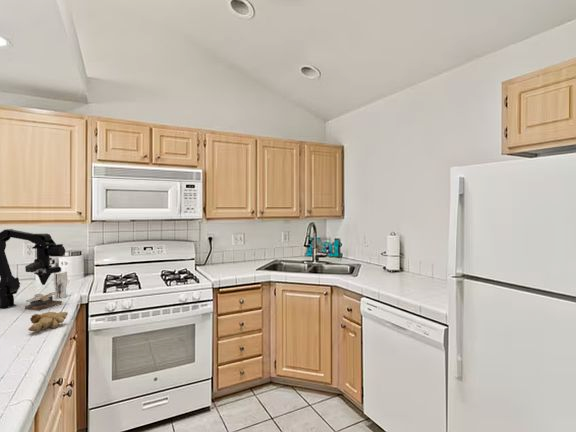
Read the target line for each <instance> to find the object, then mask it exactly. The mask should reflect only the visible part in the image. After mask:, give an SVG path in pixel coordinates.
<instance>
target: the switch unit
mask: <svg viewBox="0 0 576 432" xmlns="http://www.w3.org/2000/svg"><path fill="white" fill-rule="evenodd" d="M53 296H54V295H52V296H49V300H46V301H42V300H40V299H37V300H34V301H31V302H29V305H25V306H24V310H31V311H42V310H46V309H49V307H50V308H53V307H56V306H58V304H59V305H62V304H63V301H62V300H54V299H53ZM61 303H62V304H61ZM55 305H56V306H55ZM52 306H53V307H52Z"/></svg>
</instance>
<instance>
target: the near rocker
mask: <svg viewBox="0 0 576 432" xmlns="http://www.w3.org/2000/svg"><path fill="white" fill-rule="evenodd" d="M40 298H41V296H37V297H34V296H33V297H32V298H29V299H26V300H25V302H26V303H30V302H32V301H35V300H39V299H40Z"/></svg>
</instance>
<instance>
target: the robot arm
mask: <svg viewBox="0 0 576 432" xmlns="http://www.w3.org/2000/svg"><path fill="white" fill-rule="evenodd" d="M11 238H13V239H18V240H24V241H29V242H31V243H32V244H35V245H34V246H32V247H31V248H32V249H33V250H34V249H35V250H36V258H34V261H33V262H31V263H29V264H27V265H24V266H25V267H24V268H25V272H26V273H33V274H35V275H36V276H37V277H38V278H39V279H38V280H39V281H40V283H41V284H42V285H41V286H45V285H46V283H47V282H48V280H49V278H50V276H51V275H52V274H54V273H57V272H62V267H60V266H57V265H56V266H55V265H54V266H52V264H50V262H51V261H52V260H53V259H52V258H53V257H56V258H57V257H58V258H59V257H61V258H62V257H64V256H65V254H66V248H65V247H64V244H63V243H58V244H57V243H56V242H55V241H54V239H53V238H52V236H51V234H49V233H33V232H27V231H22V230H15V229H12V228H9V229H3V230H2V231H0V309H8V308H11V307H15V306H17V304H15V297H14V295H15V294H18V290H19V289H20V287H21V283H20V280H19V279H20V278H19V277H17V276H16V277H15V276H14V275H13V274H12V270H11V267H10V264H9V261H8V258H7V254H6V248H7V242H8V241H10V239H11Z"/></svg>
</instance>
